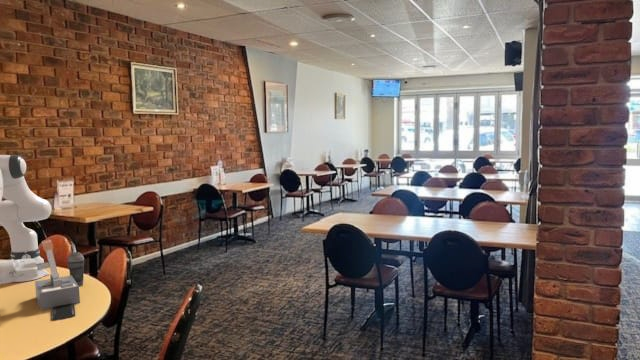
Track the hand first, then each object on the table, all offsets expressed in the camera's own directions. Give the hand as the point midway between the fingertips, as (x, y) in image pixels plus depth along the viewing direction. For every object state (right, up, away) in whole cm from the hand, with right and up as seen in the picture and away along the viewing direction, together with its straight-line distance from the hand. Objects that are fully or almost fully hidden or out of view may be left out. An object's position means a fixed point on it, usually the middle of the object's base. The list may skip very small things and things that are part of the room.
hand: (49, 264), depth 195 cm
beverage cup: (0, -14, +22) cm, 26 cm away
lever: (+2, -7, +2) cm, 7 cm away
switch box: (+2, -15, +3) cm, 16 cm away
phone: (+12, -17, -12) cm, 24 cm away
